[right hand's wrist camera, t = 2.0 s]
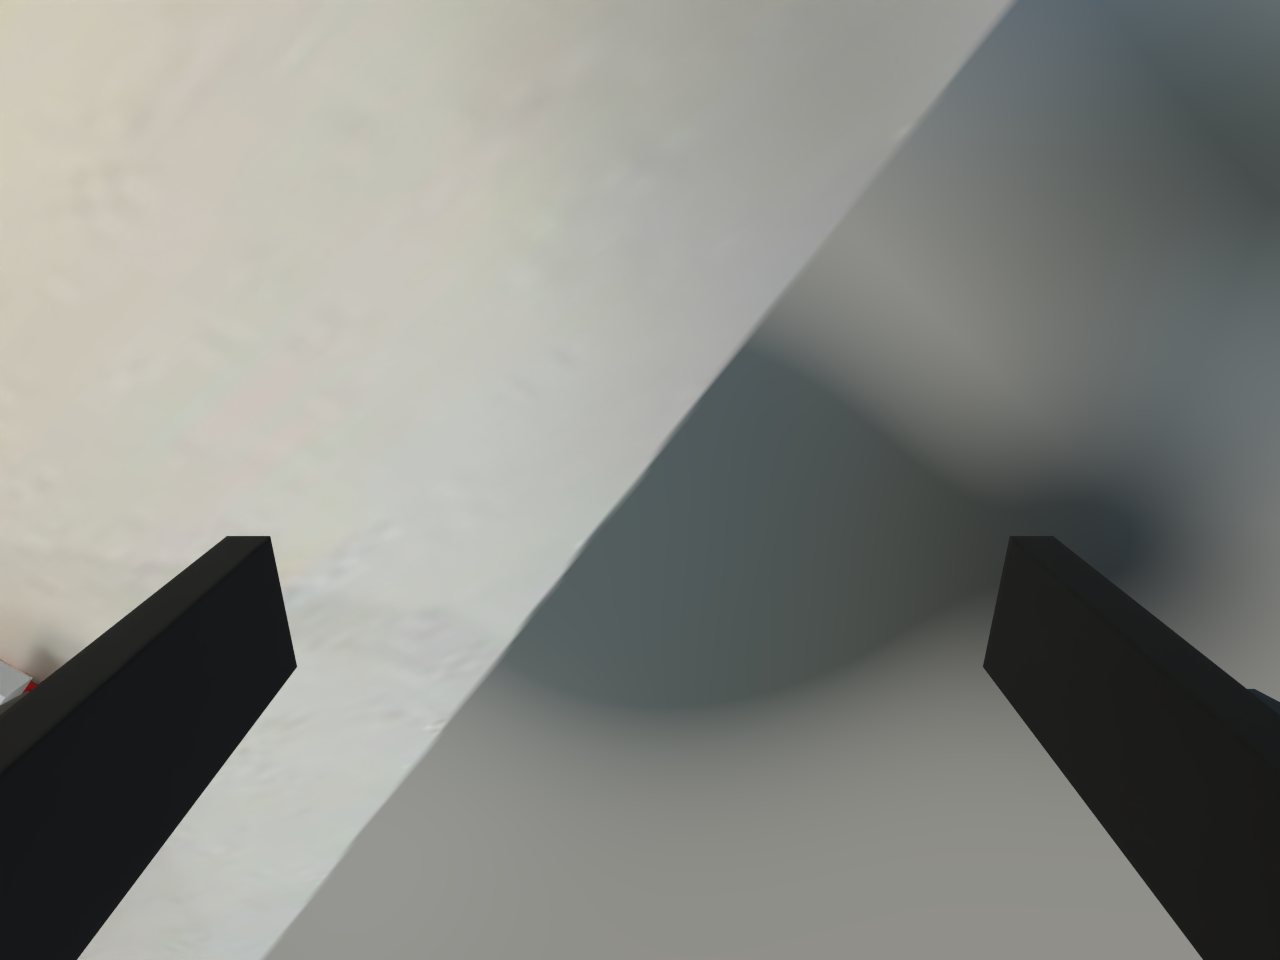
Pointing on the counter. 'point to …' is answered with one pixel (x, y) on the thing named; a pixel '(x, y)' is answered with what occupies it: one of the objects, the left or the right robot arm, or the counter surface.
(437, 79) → the counter surface
